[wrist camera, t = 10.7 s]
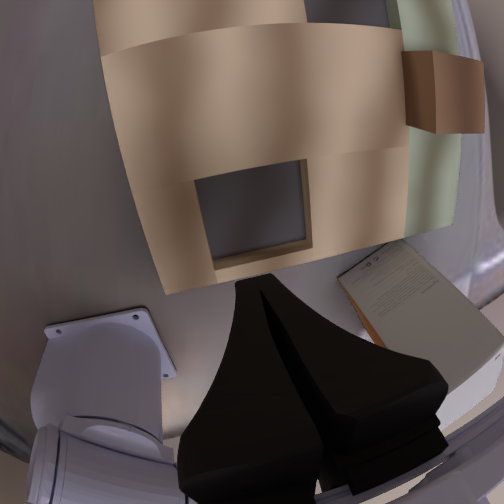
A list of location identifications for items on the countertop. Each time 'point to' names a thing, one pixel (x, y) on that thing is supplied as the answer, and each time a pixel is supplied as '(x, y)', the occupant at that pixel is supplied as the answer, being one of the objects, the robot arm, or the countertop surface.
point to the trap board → (273, 129)
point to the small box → (427, 323)
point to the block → (443, 92)
